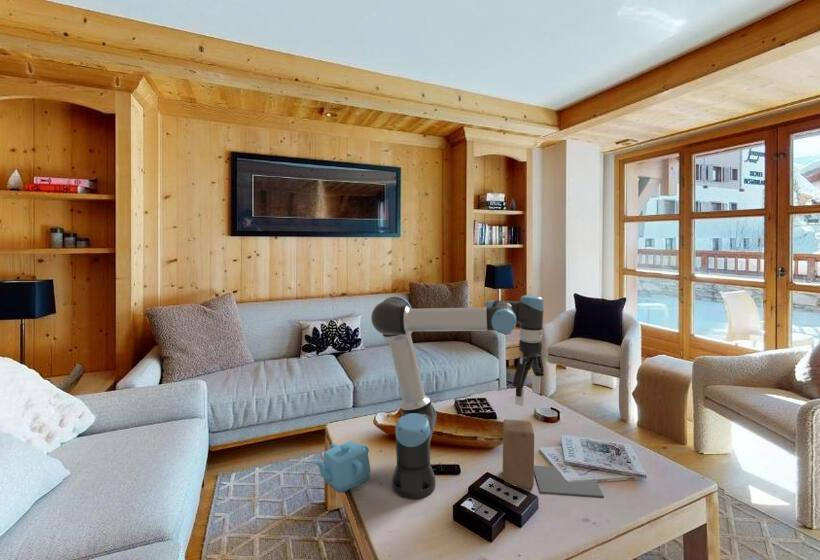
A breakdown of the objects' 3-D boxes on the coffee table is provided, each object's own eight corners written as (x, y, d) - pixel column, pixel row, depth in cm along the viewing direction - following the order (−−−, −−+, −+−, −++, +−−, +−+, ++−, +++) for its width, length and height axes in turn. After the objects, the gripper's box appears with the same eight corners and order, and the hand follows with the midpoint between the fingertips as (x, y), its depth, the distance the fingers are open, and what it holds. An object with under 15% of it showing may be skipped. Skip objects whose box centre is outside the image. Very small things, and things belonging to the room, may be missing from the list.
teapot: (333, 466, 147) (332, 432, 146) (375, 469, 144) (374, 435, 143) (313, 497, 129) (311, 459, 128) (360, 502, 126) (358, 463, 125)
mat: (540, 492, 129) (540, 491, 129) (532, 466, 144) (532, 465, 144) (603, 497, 126) (603, 495, 126) (589, 470, 141) (589, 468, 141)
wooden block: (534, 490, 131) (534, 433, 129) (503, 487, 133) (503, 431, 131) (530, 472, 140) (531, 419, 138) (502, 469, 142) (502, 417, 140)
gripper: (525, 349, 123) (522, 413, 125) (554, 335, 142) (552, 391, 144) (503, 345, 128) (501, 406, 130) (535, 331, 147) (532, 385, 149)
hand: (528, 398), depth 137 cm, fingers open, 13 cm apart
